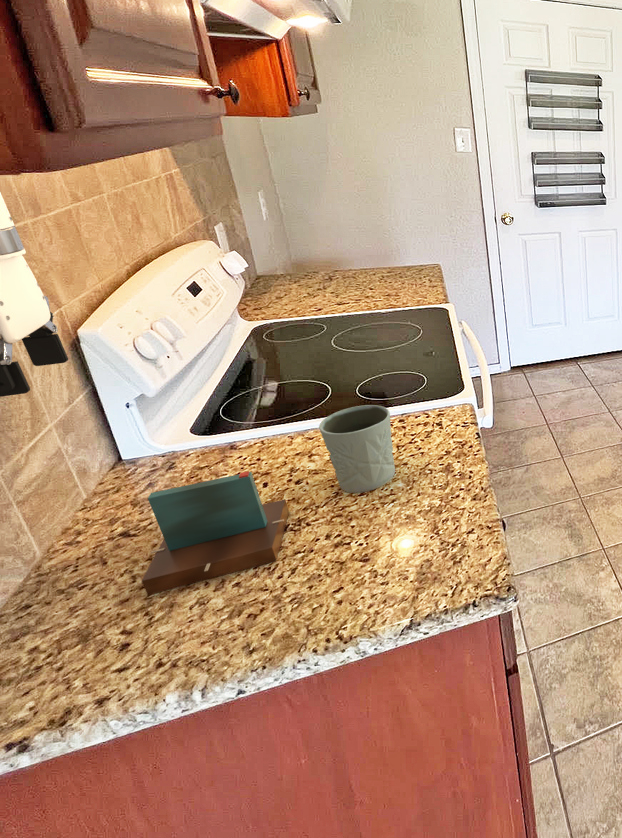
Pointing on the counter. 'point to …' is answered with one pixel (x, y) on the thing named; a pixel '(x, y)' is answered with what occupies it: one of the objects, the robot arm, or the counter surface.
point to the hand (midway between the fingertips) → (32, 378)
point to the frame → (208, 510)
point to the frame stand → (218, 554)
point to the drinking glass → (360, 447)
